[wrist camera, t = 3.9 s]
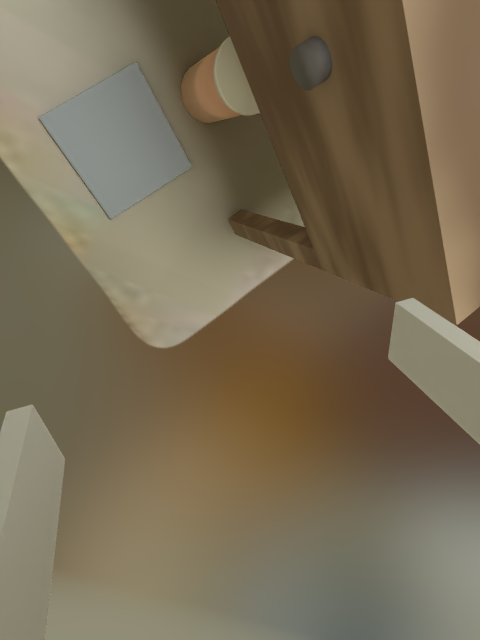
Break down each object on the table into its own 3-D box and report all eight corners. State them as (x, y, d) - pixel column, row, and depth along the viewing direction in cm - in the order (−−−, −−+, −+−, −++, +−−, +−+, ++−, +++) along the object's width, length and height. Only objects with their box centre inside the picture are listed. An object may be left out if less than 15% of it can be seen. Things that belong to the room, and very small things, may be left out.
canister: (169, 102, 36) (204, 83, 28) (195, 46, 35) (239, 10, 27) (215, 136, 39) (260, 129, 31) (240, 85, 38) (293, 64, 30)
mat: (109, 218, 38) (110, 219, 37) (38, 118, 32) (38, 117, 32) (190, 166, 39) (192, 166, 39) (135, 62, 34) (136, 61, 33)
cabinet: (229, 238, 44) (444, 334, 20) (68, -64, 29) (149, -1172, 5) (349, 155, 47) (666, 152, 23) (259, -159, 32) (911, -1158, 8)
